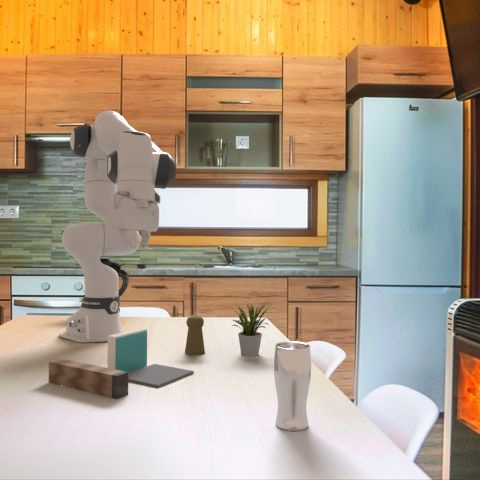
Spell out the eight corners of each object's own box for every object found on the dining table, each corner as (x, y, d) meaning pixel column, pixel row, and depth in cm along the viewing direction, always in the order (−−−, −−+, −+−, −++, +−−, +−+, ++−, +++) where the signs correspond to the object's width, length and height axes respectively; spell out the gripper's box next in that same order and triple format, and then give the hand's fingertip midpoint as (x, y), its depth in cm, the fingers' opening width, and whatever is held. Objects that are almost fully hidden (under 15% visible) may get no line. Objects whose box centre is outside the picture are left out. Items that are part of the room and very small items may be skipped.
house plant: (283, 351, 150) (283, 298, 150) (271, 362, 137) (271, 304, 137) (239, 347, 155) (239, 295, 154) (223, 357, 142) (224, 301, 141)
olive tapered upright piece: (201, 355, 143) (202, 318, 143) (182, 354, 145) (182, 317, 144) (207, 351, 149) (207, 315, 149) (188, 350, 150) (188, 314, 150)
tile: (107, 375, 123) (107, 335, 122) (140, 364, 133) (140, 328, 133) (115, 377, 121) (115, 337, 121) (147, 366, 131) (148, 329, 131)
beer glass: (270, 418, 95) (271, 341, 95) (306, 417, 95) (306, 341, 95) (276, 432, 88) (277, 349, 88) (314, 432, 88) (315, 349, 88)
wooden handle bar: (48, 382, 116) (48, 361, 116) (60, 379, 119) (60, 358, 119) (116, 399, 105) (116, 376, 105) (128, 394, 108) (128, 372, 108)
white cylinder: (77, 315, 211) (78, 257, 211) (123, 313, 219) (123, 257, 219) (81, 322, 196) (81, 259, 196) (130, 319, 204) (130, 259, 204)
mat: (116, 378, 120) (116, 376, 120) (154, 366, 132) (154, 363, 132) (158, 387, 113) (158, 385, 113) (193, 373, 125) (193, 370, 125)
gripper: (127, 188, 113) (127, 248, 113) (163, 197, 133) (163, 248, 133) (102, 189, 115) (102, 248, 115) (142, 198, 135) (142, 248, 134)
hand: (135, 248), depth 124 cm, fingers open, 8 cm apart
